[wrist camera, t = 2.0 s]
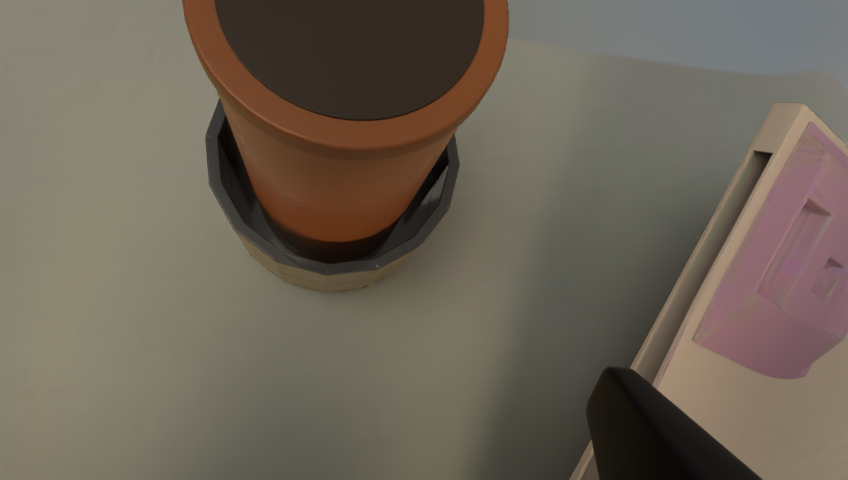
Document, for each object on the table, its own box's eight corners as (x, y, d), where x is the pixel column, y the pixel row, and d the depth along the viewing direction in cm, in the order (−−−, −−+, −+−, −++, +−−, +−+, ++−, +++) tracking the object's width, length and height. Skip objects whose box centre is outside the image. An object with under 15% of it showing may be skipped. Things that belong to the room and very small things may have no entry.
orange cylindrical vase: (384, 282, 21) (473, 191, 9) (236, 241, 20) (126, 85, 8) (420, 148, 22) (537, -80, 10) (282, 105, 21) (243, -192, 10)
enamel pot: (400, 314, 21) (426, 303, 16) (203, 261, 20) (168, 232, 15) (445, 138, 23) (480, 81, 18) (266, 82, 22) (253, 6, 17)
